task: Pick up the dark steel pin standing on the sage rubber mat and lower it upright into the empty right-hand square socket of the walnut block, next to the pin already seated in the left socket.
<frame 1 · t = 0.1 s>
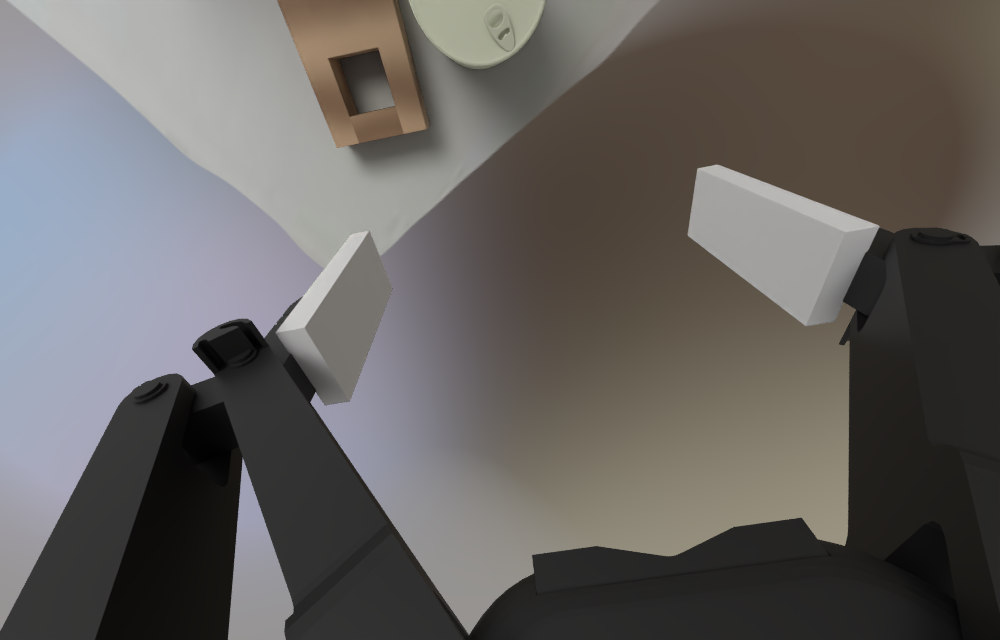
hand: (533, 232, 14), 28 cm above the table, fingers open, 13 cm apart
can: (476, 6, 31), on the table
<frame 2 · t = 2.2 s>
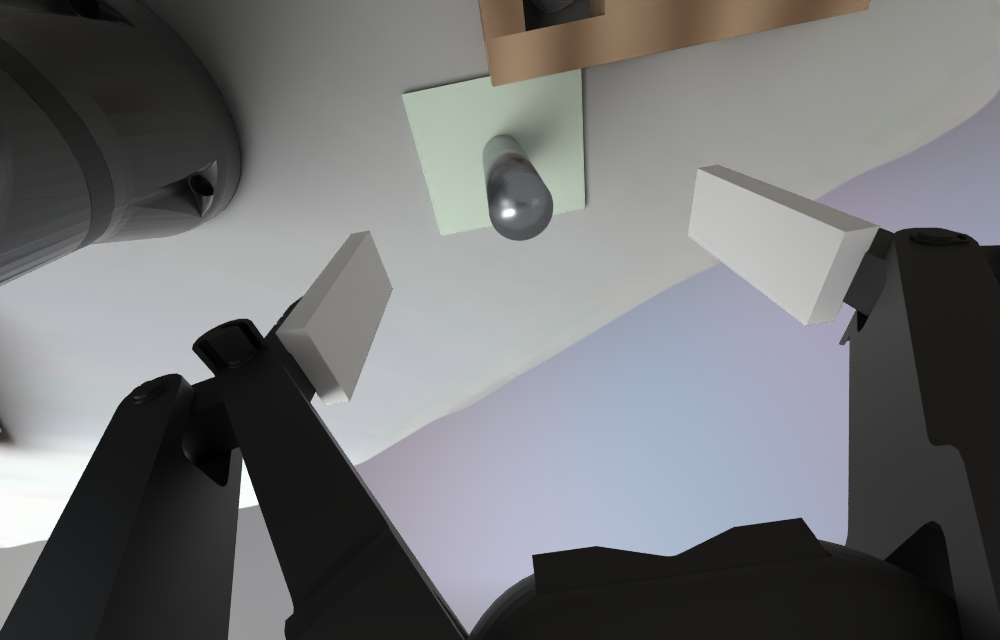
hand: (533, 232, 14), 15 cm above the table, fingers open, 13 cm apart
pin b: (502, 157, 26), resting on mat
mat: (502, 156, 26), on the table
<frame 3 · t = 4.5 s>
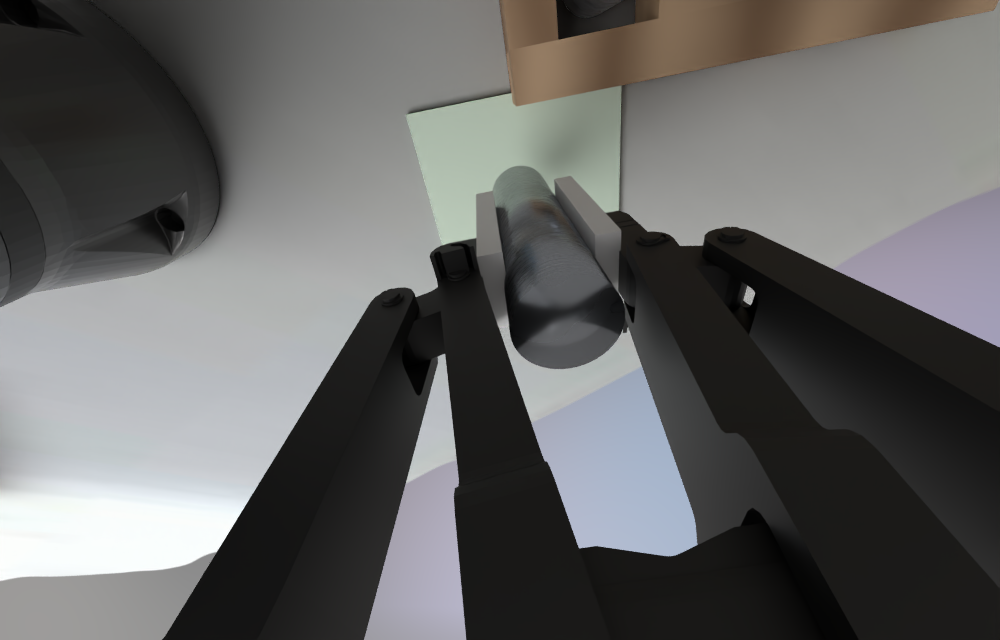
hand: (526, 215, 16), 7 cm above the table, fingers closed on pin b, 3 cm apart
pin b: (519, 195, 19), point 4 cm above the table, touching gripper
mat: (522, 184, 22), on the table
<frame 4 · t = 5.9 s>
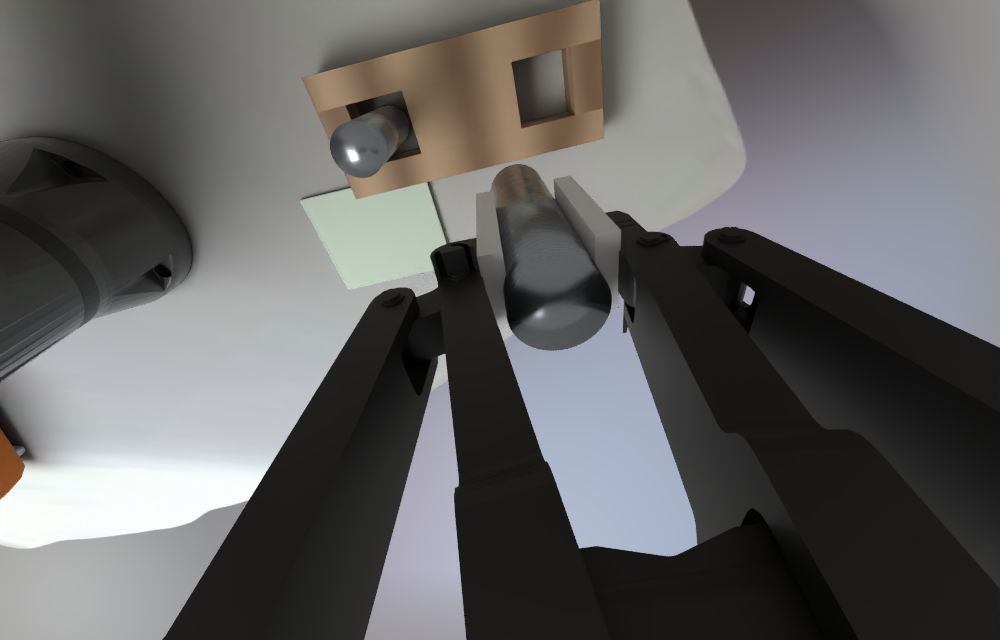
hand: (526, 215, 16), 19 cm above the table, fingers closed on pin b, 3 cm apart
pin a: (391, 125, 31), resting in socket block
socket block: (463, 107, 30), on the table
pin b: (517, 192, 20), point 15 cm above the table, touching gripper
mat: (382, 234, 36), on the table
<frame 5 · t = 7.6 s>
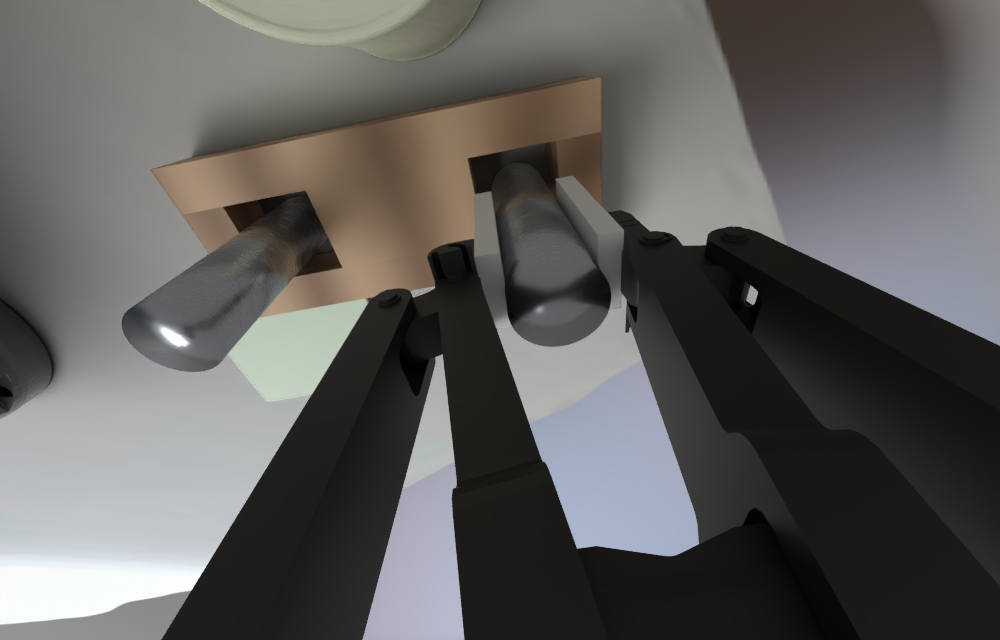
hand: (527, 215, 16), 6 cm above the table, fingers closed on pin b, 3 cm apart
pin a: (307, 220, 22), resting in socket block
socket block: (408, 201, 22), on the table
pin b: (517, 191, 20), point 2 cm above the table, touching gripper
mat: (307, 342, 27), on the table
when the fingers open (4 cm above the table, at t = 8.2 s): pin b stays where it is, resting in socket block.
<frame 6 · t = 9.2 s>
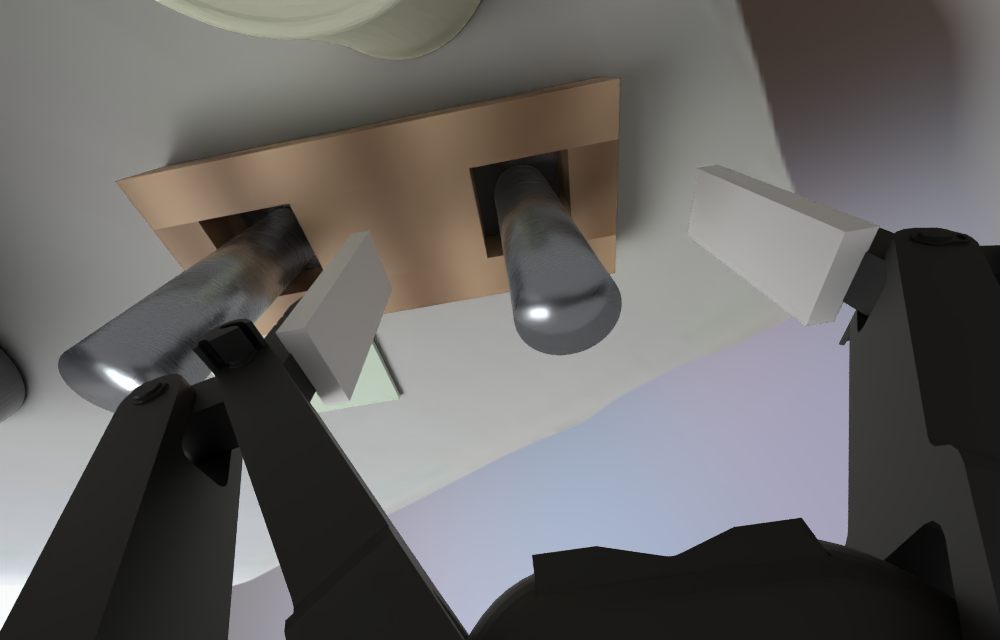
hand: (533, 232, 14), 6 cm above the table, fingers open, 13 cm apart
pin a: (294, 233, 20), resting in socket block
socket block: (404, 212, 20), on the table
pin b: (521, 193, 20), resting in socket block
mat: (297, 361, 26), on the table
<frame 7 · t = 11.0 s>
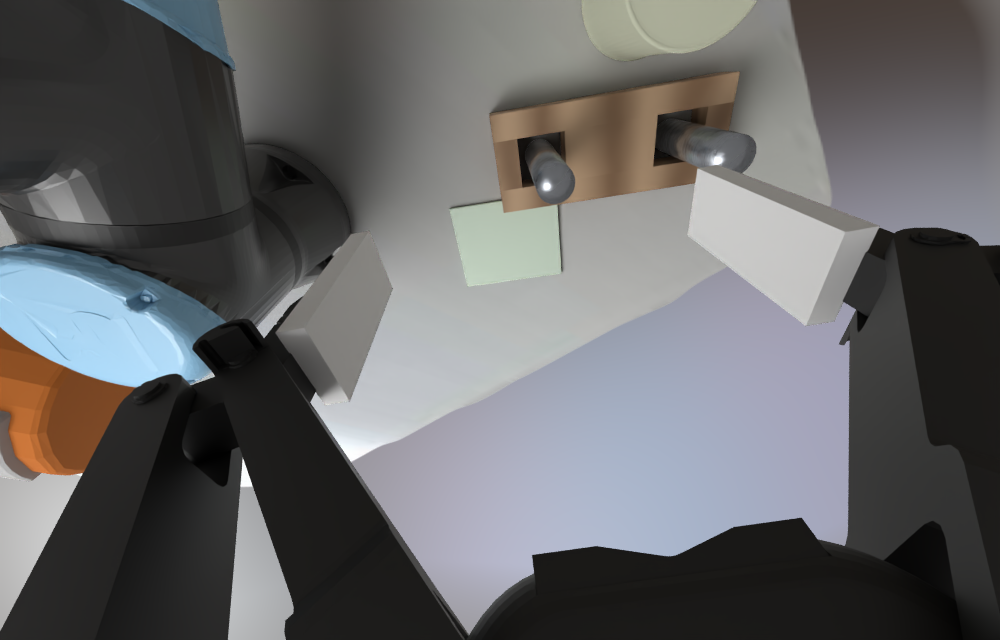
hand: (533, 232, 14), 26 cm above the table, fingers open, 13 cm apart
pin a: (539, 154, 37), resting in socket block
socket block: (602, 144, 36), on the table
alarm clock: (119, 358, 52), on the table
pin b: (667, 135, 36), resting in socket block
mat: (508, 242, 42), on the table
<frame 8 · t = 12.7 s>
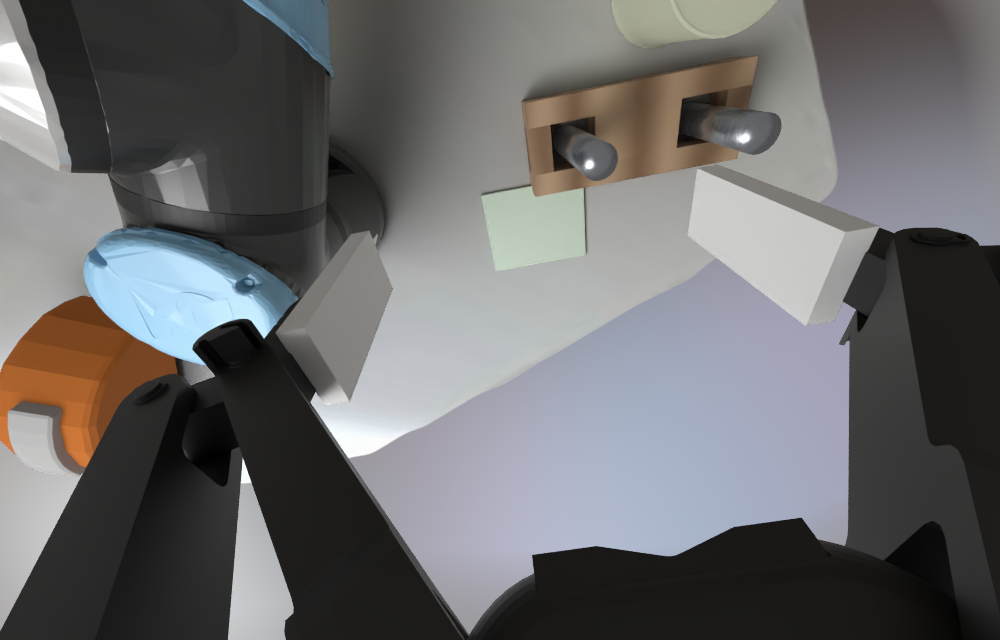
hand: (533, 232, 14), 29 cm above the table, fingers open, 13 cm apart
pin a: (567, 140, 39), resting in socket block
socket block: (626, 128, 38), on the table
alarm clock: (150, 355, 52), on the table
pin b: (688, 118, 38), resting in socket block
mat: (535, 226, 44), on the table
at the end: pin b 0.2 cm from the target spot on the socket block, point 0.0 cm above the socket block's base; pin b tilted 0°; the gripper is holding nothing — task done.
